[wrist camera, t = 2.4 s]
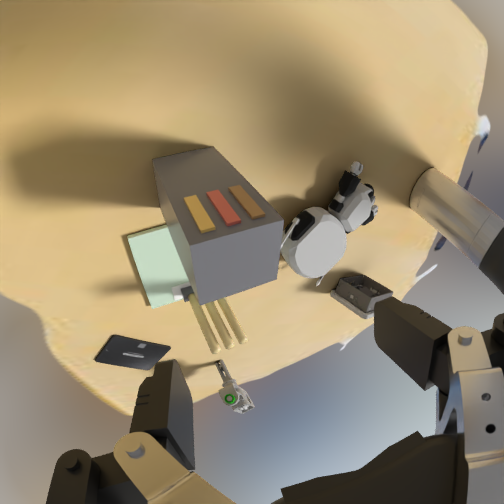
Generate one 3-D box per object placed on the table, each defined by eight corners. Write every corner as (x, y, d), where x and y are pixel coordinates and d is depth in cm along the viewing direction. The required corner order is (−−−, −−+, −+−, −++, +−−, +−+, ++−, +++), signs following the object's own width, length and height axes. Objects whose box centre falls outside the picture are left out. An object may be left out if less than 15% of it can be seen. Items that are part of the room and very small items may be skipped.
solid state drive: (113, 331, 34) (113, 335, 33) (170, 344, 41) (172, 347, 40) (94, 357, 35) (94, 361, 35) (148, 367, 42) (149, 370, 42)
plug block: (213, 144, 24) (284, 216, 16) (215, 194, 27) (276, 279, 20) (151, 157, 22) (189, 242, 14) (160, 208, 26) (199, 305, 18)
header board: (250, 203, 30) (299, 261, 24) (248, 274, 37) (284, 331, 31) (127, 235, 26) (144, 312, 19) (151, 305, 33) (173, 373, 27)
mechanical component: (215, 349, 47) (240, 399, 40) (234, 365, 54) (256, 407, 48) (200, 357, 46) (223, 407, 40) (222, 372, 54) (243, 414, 47)
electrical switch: (327, 293, 52) (359, 327, 45) (338, 271, 49) (374, 304, 43) (357, 287, 57) (387, 316, 50) (368, 267, 54) (400, 295, 48)
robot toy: (342, 146, 32) (255, 234, 33) (370, 160, 29) (277, 257, 30) (366, 201, 41) (298, 272, 42) (388, 216, 38) (317, 292, 39)
